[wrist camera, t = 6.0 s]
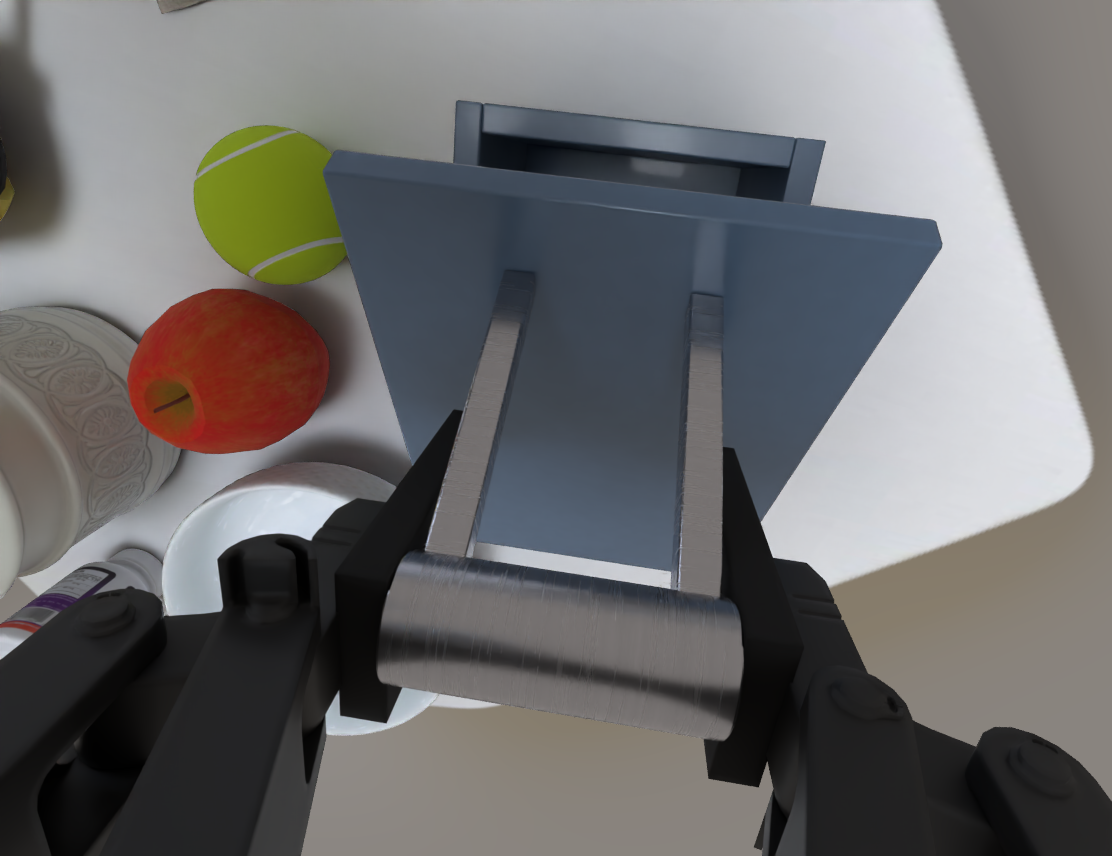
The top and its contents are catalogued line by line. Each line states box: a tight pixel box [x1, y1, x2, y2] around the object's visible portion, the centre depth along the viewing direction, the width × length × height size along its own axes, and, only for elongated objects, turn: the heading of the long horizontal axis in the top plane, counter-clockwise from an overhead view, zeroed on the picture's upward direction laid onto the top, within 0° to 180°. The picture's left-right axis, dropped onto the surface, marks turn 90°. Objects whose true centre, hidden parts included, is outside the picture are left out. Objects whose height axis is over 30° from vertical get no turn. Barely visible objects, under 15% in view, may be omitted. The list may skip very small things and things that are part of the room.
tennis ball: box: [194, 125, 347, 285], centre depth 30 cm, size 7×7×7 cm
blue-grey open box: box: [453, 100, 826, 205], centre depth 28 cm, size 16×12×11 cm
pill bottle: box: [0, 549, 163, 660], centre depth 39 cm, size 5×5×10 cm
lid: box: [323, 150, 942, 742], centre depth 17 cm, size 17×12×9 cm
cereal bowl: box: [162, 462, 439, 736], centre depth 38 cm, size 17×17×7 cm
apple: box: [127, 289, 330, 454], centre depth 31 cm, size 8×8×11 cm
